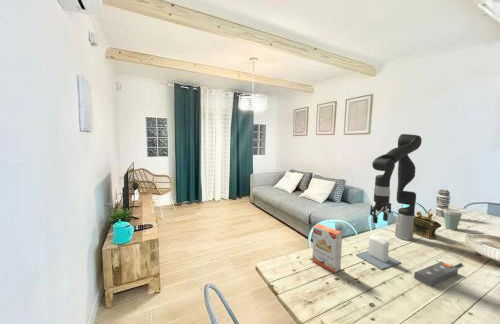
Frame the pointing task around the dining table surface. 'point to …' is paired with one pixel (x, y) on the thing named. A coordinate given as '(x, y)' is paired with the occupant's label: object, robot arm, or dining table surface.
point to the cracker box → (327, 247)
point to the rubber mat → (377, 262)
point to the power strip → (436, 273)
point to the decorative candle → (442, 202)
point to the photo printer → (378, 248)
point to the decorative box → (425, 226)
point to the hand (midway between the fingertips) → (380, 221)
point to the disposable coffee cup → (451, 218)
